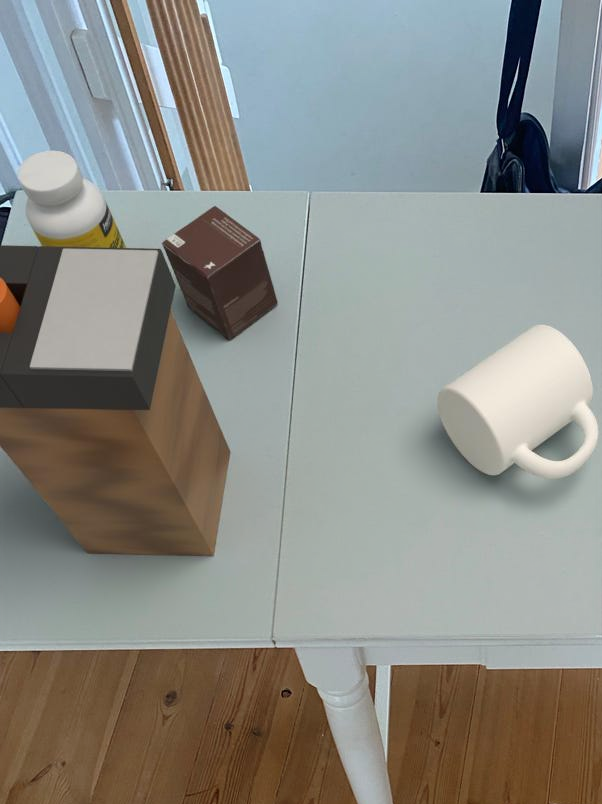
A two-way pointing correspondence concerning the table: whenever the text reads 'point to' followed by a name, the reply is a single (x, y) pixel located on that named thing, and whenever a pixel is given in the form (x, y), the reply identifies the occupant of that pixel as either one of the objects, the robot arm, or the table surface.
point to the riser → (130, 464)
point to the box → (221, 271)
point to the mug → (521, 405)
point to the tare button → (7, 309)
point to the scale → (84, 326)
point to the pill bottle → (65, 204)
